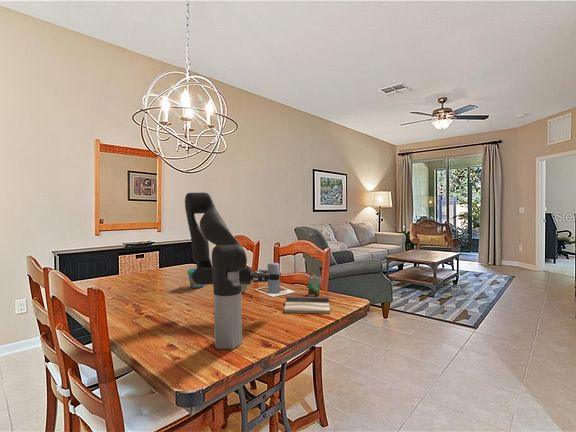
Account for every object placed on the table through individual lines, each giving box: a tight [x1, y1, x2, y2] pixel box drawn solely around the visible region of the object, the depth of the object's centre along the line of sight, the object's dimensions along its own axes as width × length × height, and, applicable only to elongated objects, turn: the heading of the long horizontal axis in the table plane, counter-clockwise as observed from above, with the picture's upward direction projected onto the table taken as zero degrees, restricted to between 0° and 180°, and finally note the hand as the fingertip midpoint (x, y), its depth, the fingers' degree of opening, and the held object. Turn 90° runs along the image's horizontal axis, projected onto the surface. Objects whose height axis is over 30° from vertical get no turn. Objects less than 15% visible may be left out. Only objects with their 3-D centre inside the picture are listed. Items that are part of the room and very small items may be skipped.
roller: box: [267, 262, 281, 294], centre depth 132 cm, size 5×5×12 cm
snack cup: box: [187, 267, 205, 289], centre depth 180 cm, size 16×10×10 cm
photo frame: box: [254, 285, 296, 298], centre depth 169 cm, size 15×1×18 cm
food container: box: [307, 273, 322, 297], centre depth 161 cm, size 12×6×10 cm, turn 168°
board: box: [283, 296, 331, 314], centre depth 141 cm, size 14×20×3 cm
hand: (279, 275), depth 131 cm, fingers closed on roller, 5 cm apart
